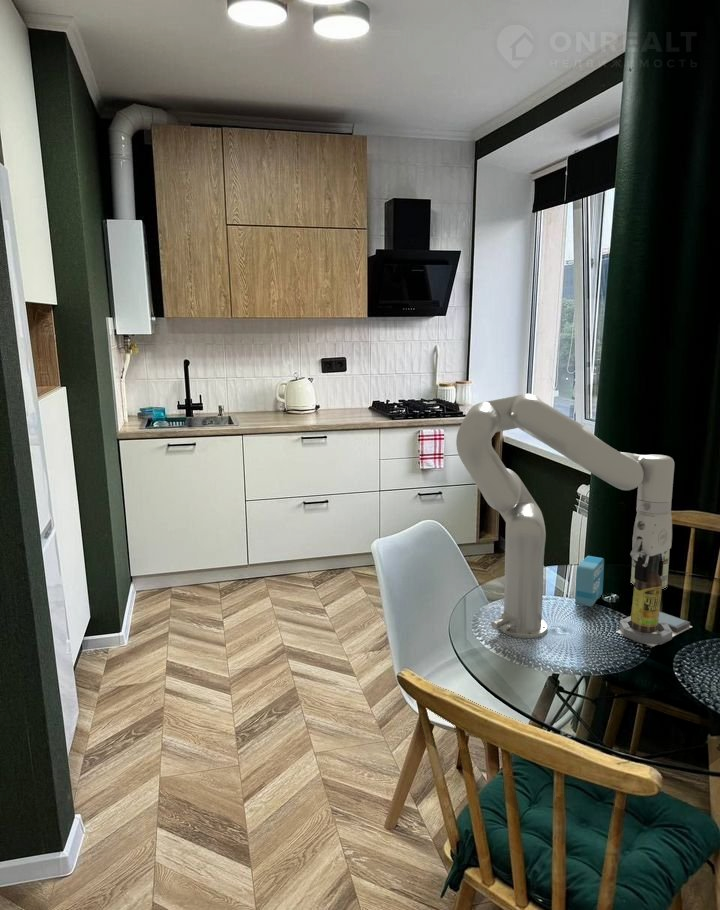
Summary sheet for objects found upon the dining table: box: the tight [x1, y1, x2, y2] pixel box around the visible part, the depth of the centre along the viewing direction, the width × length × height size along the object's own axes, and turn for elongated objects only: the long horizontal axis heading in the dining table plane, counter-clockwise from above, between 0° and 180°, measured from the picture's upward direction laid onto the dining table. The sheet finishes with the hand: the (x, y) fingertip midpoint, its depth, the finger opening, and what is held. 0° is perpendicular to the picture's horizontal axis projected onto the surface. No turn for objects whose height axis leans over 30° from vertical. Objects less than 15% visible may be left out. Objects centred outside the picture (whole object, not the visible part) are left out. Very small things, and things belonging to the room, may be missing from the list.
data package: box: [574, 555, 605, 608], centre depth 182 cm, size 12×4×12 cm, turn 146°
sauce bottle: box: [630, 551, 663, 633], centre depth 159 cm, size 6×6×20 cm
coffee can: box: [630, 548, 671, 590], centre depth 193 cm, size 10×10×14 cm
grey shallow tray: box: [615, 615, 693, 648], centre depth 163 cm, size 19×11×3 cm, turn 125°
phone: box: [658, 611, 691, 633], centre depth 166 cm, size 6×9×1 cm, turn 35°
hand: (648, 577), depth 158 cm, fingers open, 5 cm apart
